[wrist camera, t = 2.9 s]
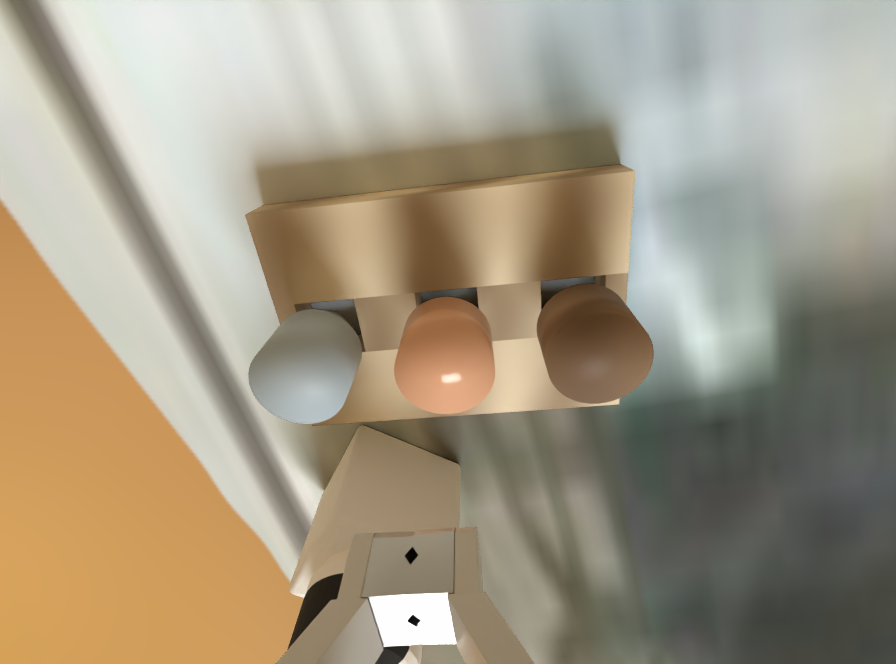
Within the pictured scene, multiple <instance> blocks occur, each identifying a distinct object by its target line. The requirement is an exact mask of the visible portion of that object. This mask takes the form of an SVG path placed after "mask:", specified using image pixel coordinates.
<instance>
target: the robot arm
mask: <svg viewBox="0 0 896 664" xmlns="http://www.w3.org/2000/svg"><path fill="white" fill-rule="evenodd" d="M416 644H456V645H457V648H458V650H459V651H460V653H461V655H462V657H463V659H464V661H465V663H466V664H535V663H534V662H533V660H532V659H531V658H530V656H529V655H528V653H527V652H526V650H525V649H524V647H523V646H522V645H521V643H520V642H519V640H518V639H517V637H516V636H515V634H514V633H513V632H512V630H511V629H510V627H509V626H508V624H507V623H506V621H505V620H504V618H503V617H502V616H501V614H500V613H499V611H498V610H497V608H496V607H495V605H494V604H493V603H492V601H491V600H490V598H489V597H488V595H487V594H486V592H483V577H482V566H481V556H480V548H479V540H478V532H477V527H465V528H443V529H430V530H417V531H415V532H384V533H362V534H355V535H354V537H353V539H352V541H351V545H350V549H349V553H348V557H347V561H346V565H345V569H344V573H343V577H342V582H341V586H340V590H339V594H338V598H337V599H336V600H330V602H329V603H328V604H327V605H326V606H325V607H324V609H323V610H322V611H321V612H320V613H319V614H318V615H317V617H316V618H315V619H314V620H313V621H312V622H311V623H310V625H309V626H308V627H307V628H306V629H305V630H304V632H303V633H302V634H301V635H300V636H299V637H298V638H297V640H296V641H295V642H294V643H293V644H292V645H291V646H290V648H289V649H288V650H287V651H286V652H285V653H284V655H283V656H282V657H281V658H280V659H279V660H278V662H277V663H276V664H375V663H376V661H377V660H378V658H379V656H380V655H381V653H382V651H383V650H384V649H383V647H389V646H403V645H416Z"/></svg>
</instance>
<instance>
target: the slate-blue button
mask: <svg viewBox="0 0 896 664" xmlns="http://www.w3.org/2000/svg"><path fill="white" fill-rule="evenodd" d="M361 358H362V347H361V343H360V339H359V337H358V335H357V334H356V332H355V330H354V329H353V328H352V327H351V326H350V325H349V323H348V321H347V320H346V319H345V318H344V317H343V316H342V315H341V314H339V313H337V312H334V311H323V310H316V309H308V310H302V311H299V312H296V313H294V314H292V315H290V316H289V317H287V318H286V319H285V320H284V321H283V323H282V324H281V325H280V326H279V327H278V329H277V330H276V331H275V332H274V334H273V335H272V336H271V337H270V339H269V340H268V341H267V342H266V344H265V345H264V346H263V347H262V349H261V350H260V351H259V352H258V354H257V355H256V356H255V357H254V359H253V361H252V362H251V365H250V368H249V384H250V387H251V390H252V392H253V394H254V396H255V397H256V399H257V400H258V401H259V403H260V404H261V405H262V406H263V407H264V408H265V409H267V410H268V411H269V412H271V413H272V414H274V415H275V416H277V417H279V418H281V419H284V420H286V421H290V422H294V423H300V424H313V423H319V422H322V421H325V420H328V419H329V418H331V417H333V416H334V415H335V414H337V413H338V412H339V411H340V409H341V408H342V407H343V405H344V403H345V400H346V398H347V395H348V393H349V390H350V388H351V385H352V383H353V380H354V377H355V375H356V372H357V370H358V367H359V365H360V362H361Z"/></svg>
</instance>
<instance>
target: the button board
mask: <svg viewBox="0 0 896 664" xmlns="http://www.w3.org/2000/svg"><path fill="white" fill-rule="evenodd" d="M634 182H635V171H634V170H632V169H630V168H628V167H626V166H624V165H621V164H619V165H610V166H601V167H592V168H584V169H575V170H566V171H558V172H549V173H540V174H531V175H523V176H514V177H505V178H497V179H488V180H479V181H470V182H462V183H453V184H444V185H436V186H427V187H418V188H409V189H401V190H392V191H383V192H375V193H366V194H357V195H348V196H340V197H331V198H322V199H313V200H305V201H296V202H287V203H279V204H270V205H263V206H261V207H259V208H257V209H255V210H253V211H252V212H250V213H248V214H246V215H245V216H246V219H247V222H248V225H249V228H250V232H251V235H252V238H253V241H254V244H255V247H256V250H257V253H258V257H259V260H260V263H261V266H262V269H263V272H264V275H265V278H266V281H267V285H268V288H269V291H270V294H271V297H272V300H273V303H274V306H275V310H276V313H277V316H278V319H279V322H280V325H281V324H282V323H283V321H284V320H285V319H286V318H287V317H289V316H290V315H292V314H294V313H296V312H299V311H302V310H308V309H312V306H311V303H313V302H324V301H334V300H345V299H354V303H355V308H356V312H357V316H358V321H359V325H360V329H361V334H362V335H358V337H359V339H360V343H361V347H362V358H361V362H360V365H359V367H358V370H357V372H356V375H355V377H354V380H353V383H352V385H351V388H350V390H349V393H348V395H347V398H346V400H345V403H344V405H343V407H342V408H341V409H340V411H339V412H338V413H337V414H335V415H334V416H333V417H331V418H329V419H328V420H325V421H322V422H319V423H313V424H312V425H313V426H316V425H330V424H345V423H359V422H373V421H387V420H402V419H416V418H430V417H444V416H459V415H473V414H487V413H501V412H516V411H530V410H544V409H558V408H573V407H587V406H601V405H615V404H619V399H617V400H614V401H610V402H606V403H599V404H588V403H581V402H577V401H574V400H572V399H569V398H567V397H566V396H564V395H563V394H561V393H560V392H559V391H558V390H557V389H556V388H555V387H554V385H553V384H552V382H551V380H550V378H549V375H548V372H547V368H546V365H545V361H544V358H543V354H542V351H541V347H540V344H539V341H538V337H537V321H538V317H539V314H540V312H541V281H546V280H557V279H567V278H578V277H588V276H595V282H594V284H596V285H601V286H604V287H607V288H609V289H611V290H612V291H614V292H615V293H617V294H618V295H619V296H620V297H621V299H622V300H623V301H624V303H625V304H626V297H627V283H628V268H629V254H630V240H631V225H632V211H633V197H634ZM472 287H477V296H478V306H479V310H480V311H481V312H482V313H483V314H484V315H485V317H486V318H487V320H488V322H489V325H490V328H491V334H492V343H493V353H494V363H495V380H494V383H493V386H492V388H491V390H490V392H489V394H488V395H487V396H486V397H485V399H484V400H483V401H481V402H480V403H479V404H478V405H476V406H475V407H473V408H471V409H469V410H466V411H463V412H460V413H454V414H437V413H432V412H429V411H425V410H423V409H421V408H419V407H417V406H415V405H414V404H412V403H411V402H410V401H409V400H408V399H406V398H405V396H404V395H403V394H402V393H401V391H400V390H399V388H398V386H397V383H396V380H395V376H394V365H395V360H396V356H397V352H398V349H399V345H400V341H401V337H402V334H403V330H404V326H405V323H406V321H407V319H408V317H409V315H410V314H411V313H412V312H413V310H414V309H415V308H417V307H418V306H419V305H421V304H422V299H421V292H430V291H440V290H451V289H461V288H472Z"/></svg>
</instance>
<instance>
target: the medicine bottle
mask: <svg viewBox="0 0 896 664" xmlns="http://www.w3.org/2000/svg"><path fill="white" fill-rule="evenodd" d="M460 474H461V469H460V466H459V465H458V464H457V463H454V462H452V461H450V460H447V459H445V458H442V457H440V456H437V455H435V454H433V453H430V452H428V451H425V450H423V449H420V448H418V447H415V446H413V445H411V444H408V443H406V442H403V441H401V440H398V439H396V438H394V437H391V436H389V435H386V434H384V433H381V432H379V431H377V430H374V429H372V428H369V427H367V426H360V427H359V428H358V429H357V431H356V433H355V435H354V436H353V438H352V440H351V442H350V444H349V446H348V448H347V449H346V451H345V453H344V455H343V457H342V459H341V461H340V463H339V464H338V466H337V468H336V470H335V472H334V474H333V476H332V478H331V479H330V481H329V483H328V485H327V487H326V489H325V491H324V493H323V494H322V497H321V500H320V503H319V506H318V508H317V511H316V514H315V517H314V519H313V522H312V525H311V528H310V531H309V533H308V536H307V539H306V542H305V544H304V547H303V550H302V553H301V556H300V558H299V561H298V564H297V567H296V569H295V572H294V575H293V578H292V581H291V583H290V592H291V593H292V594H294V595H297V596H300V597H303V598H304V600H303V603H302V607H301V610H300V613H299V616H298V619H297V622H296V625H295V629H294V632H293V634H292V638H291V641H290V644H289V647H288V649H289V648H290V646H291V645H292V644H293V643H294V642H295V641H296V640H297V638H298V637H299V636H300V635H301V634H302V633H303V632H304V630H305V629H306V628H307V627H308V626H309V625H310V623H311V622H312V621H313V620H314V619H315V618H316V617H317V615H318V614H319V613H320V612H321V611H322V610H323V609H324V607H325V606H326V605H327V604H328V603H329V602H330V600H336V599H337V598H338V594H339V590H340V586H341V582H342V577H343V573H344V569H345V565H346V561H347V557H348V553H349V549H350V545H351V541H352V539H353V537H354V535H355V534H362V533H384V532H415V531H417V530H430V529H443V528H460ZM383 649H384V650H383V651H382V653H381V655H380V656H379V658H378V660H377V661H376V663H375V664H421V652H422V644H416V645H403V646H389V647H383Z"/></svg>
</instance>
